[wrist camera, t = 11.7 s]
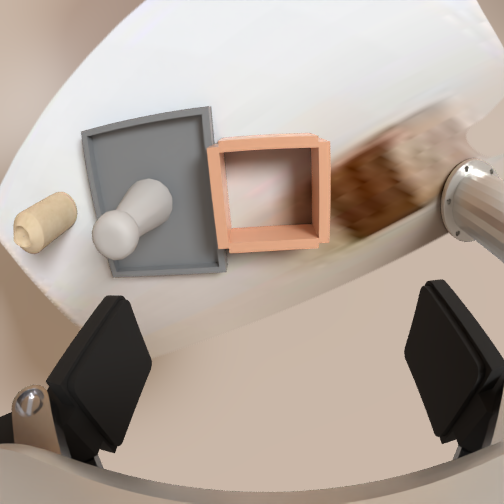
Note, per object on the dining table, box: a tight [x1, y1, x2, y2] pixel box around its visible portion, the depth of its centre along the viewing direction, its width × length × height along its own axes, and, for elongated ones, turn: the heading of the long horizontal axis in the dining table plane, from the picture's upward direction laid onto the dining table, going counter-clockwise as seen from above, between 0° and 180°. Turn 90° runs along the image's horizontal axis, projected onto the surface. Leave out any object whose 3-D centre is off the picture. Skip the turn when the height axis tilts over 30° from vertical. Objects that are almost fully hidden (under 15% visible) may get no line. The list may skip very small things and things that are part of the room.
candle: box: [14, 192, 77, 254], centre depth 32 cm, size 6×6×10 cm
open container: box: [207, 133, 330, 253], centre depth 33 cm, size 12×12×4 cm
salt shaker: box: [92, 178, 172, 260], centre depth 29 cm, size 6×6×13 cm
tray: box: [81, 106, 228, 277], centre depth 34 cm, size 16×20×2 cm
